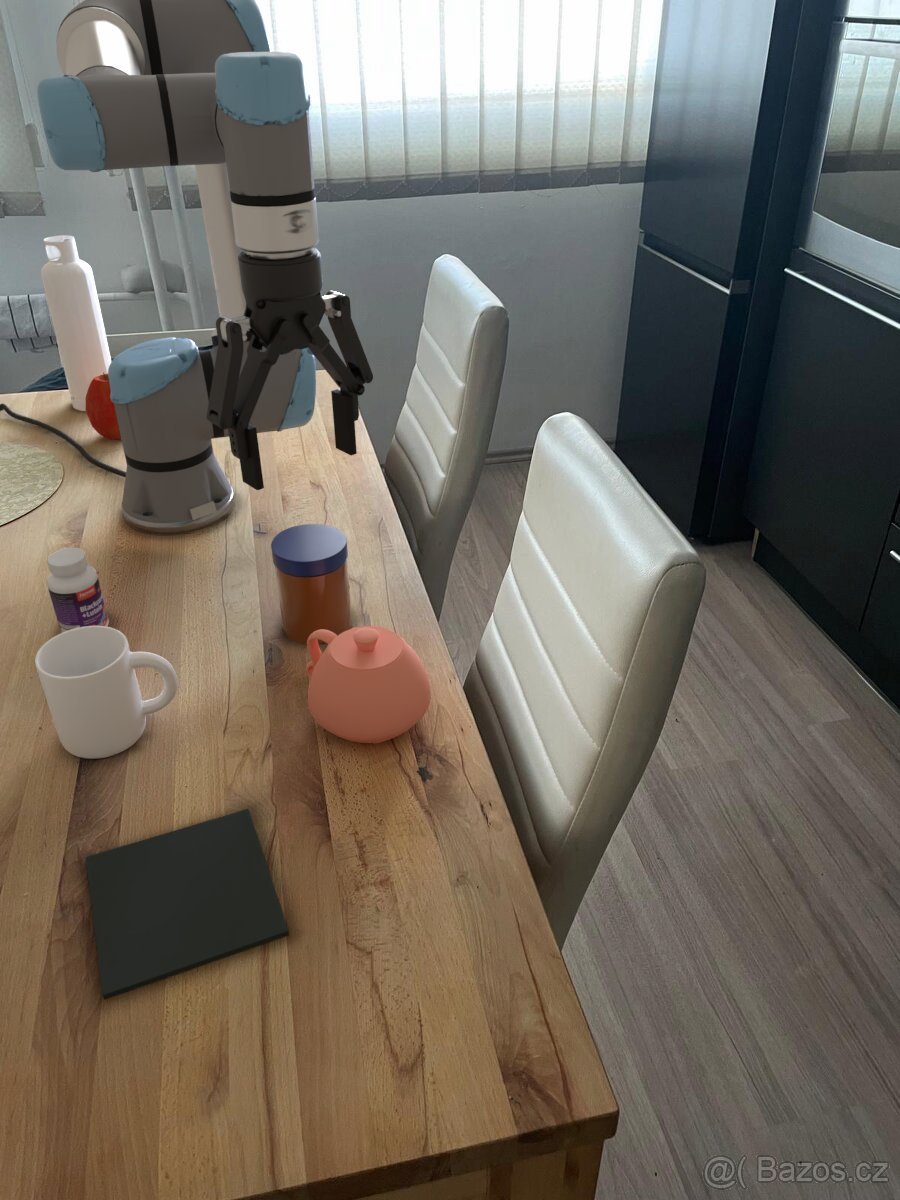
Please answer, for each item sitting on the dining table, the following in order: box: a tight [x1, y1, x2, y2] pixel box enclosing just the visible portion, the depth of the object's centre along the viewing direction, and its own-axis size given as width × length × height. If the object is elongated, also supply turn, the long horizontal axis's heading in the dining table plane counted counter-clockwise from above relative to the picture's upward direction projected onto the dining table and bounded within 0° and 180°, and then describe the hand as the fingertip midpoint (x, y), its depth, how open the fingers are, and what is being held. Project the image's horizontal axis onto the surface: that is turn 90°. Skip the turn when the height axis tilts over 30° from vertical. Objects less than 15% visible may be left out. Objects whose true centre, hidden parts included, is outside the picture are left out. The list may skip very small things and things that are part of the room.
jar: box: [274, 559, 353, 645], centre depth 104 cm, size 8×8×10 cm
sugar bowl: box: [305, 625, 432, 744], centre depth 91 cm, size 12×14×10 cm
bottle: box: [40, 234, 112, 412], centre depth 157 cm, size 8×8×28 cm
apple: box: [85, 372, 121, 440], centre depth 150 cm, size 8×8×11 cm
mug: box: [34, 626, 179, 760], centre depth 89 cm, size 12×8×10 cm
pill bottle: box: [46, 547, 110, 634], centre depth 104 cm, size 5×5×10 cm
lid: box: [270, 523, 349, 576], centre depth 102 cm, size 8×8×2 cm
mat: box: [85, 808, 290, 1000], centre depth 75 cm, size 14×14×1 cm
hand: (301, 467), depth 96 cm, fingers open, 11 cm apart
